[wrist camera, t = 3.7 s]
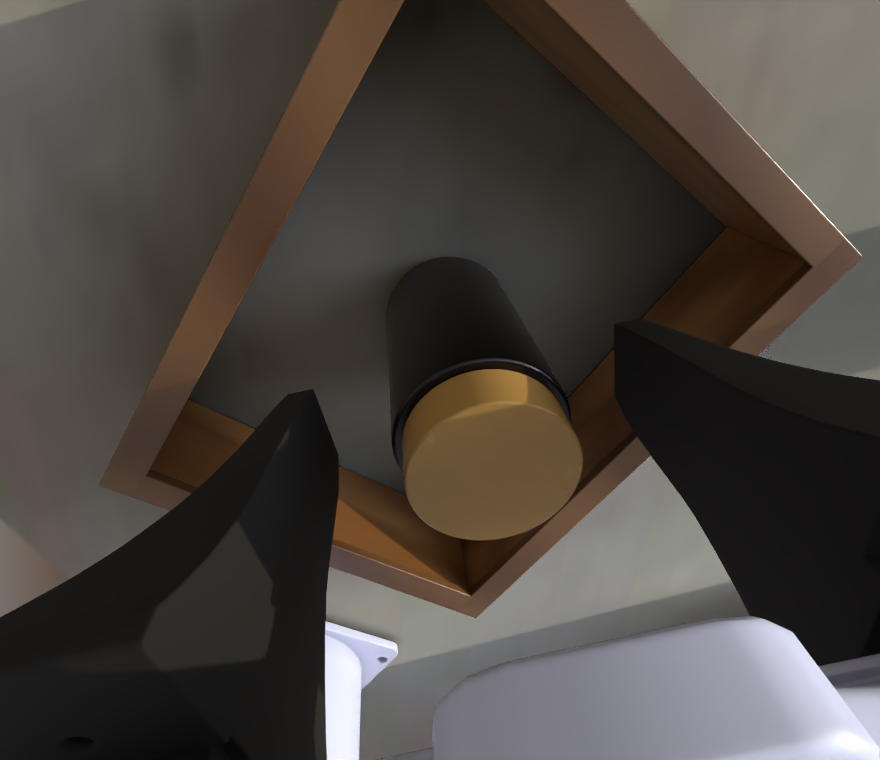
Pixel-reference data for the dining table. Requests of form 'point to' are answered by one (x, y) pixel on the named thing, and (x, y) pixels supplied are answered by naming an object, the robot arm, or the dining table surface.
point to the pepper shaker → (475, 407)
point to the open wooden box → (593, 403)
